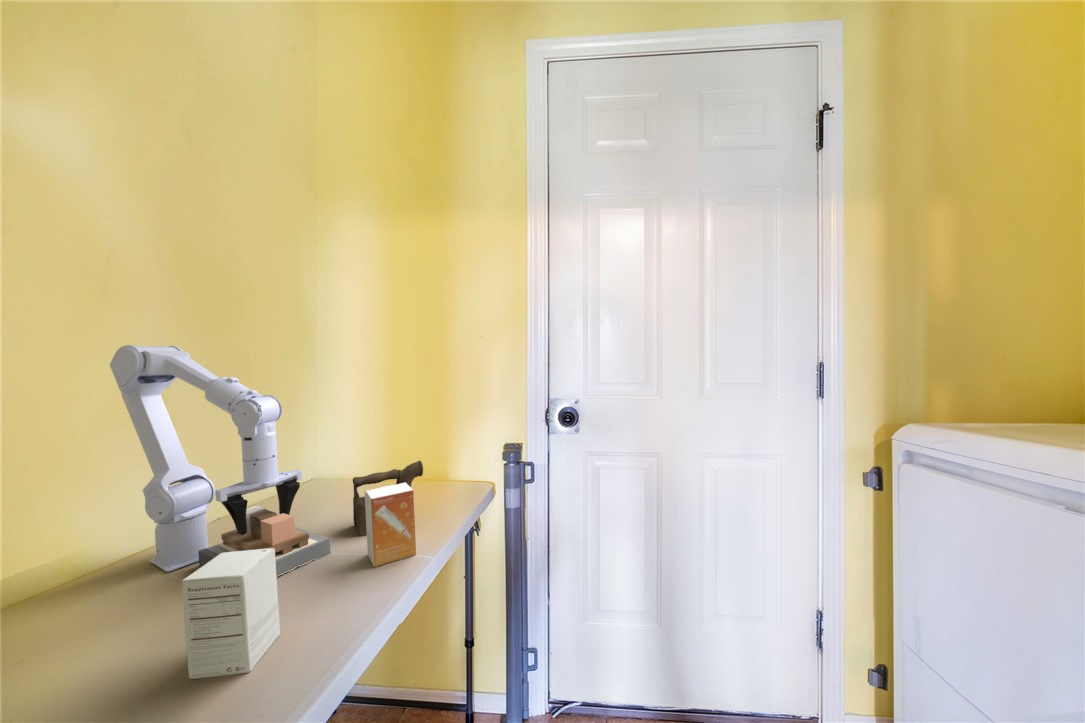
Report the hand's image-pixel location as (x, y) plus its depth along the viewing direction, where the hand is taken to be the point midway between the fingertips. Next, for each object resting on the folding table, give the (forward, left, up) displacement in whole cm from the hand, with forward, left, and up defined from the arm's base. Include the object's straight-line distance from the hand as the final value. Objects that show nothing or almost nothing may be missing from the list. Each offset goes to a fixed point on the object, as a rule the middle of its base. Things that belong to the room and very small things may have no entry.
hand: (264, 525), depth 80 cm
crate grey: (-5, 0, -2) cm, 6 cm away
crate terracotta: (+5, 0, -2) cm, 5 cm away
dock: (0, 0, -7) cm, 7 cm away
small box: (+22, +12, -7) cm, 26 cm away
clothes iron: (+8, +22, -7) cm, 25 cm away
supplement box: (+26, -16, -7) cm, 31 cm away
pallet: (0, 0, -4) cm, 4 cm away
